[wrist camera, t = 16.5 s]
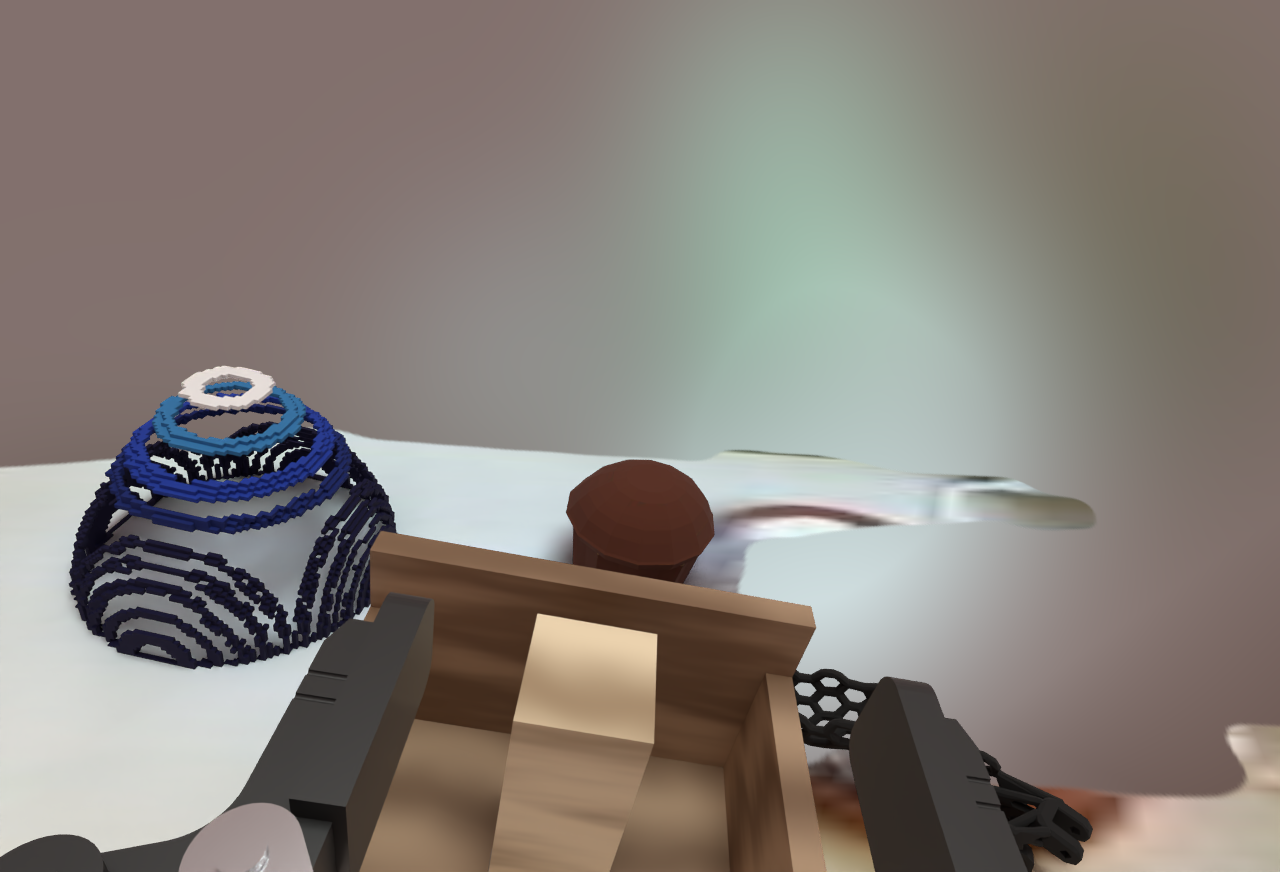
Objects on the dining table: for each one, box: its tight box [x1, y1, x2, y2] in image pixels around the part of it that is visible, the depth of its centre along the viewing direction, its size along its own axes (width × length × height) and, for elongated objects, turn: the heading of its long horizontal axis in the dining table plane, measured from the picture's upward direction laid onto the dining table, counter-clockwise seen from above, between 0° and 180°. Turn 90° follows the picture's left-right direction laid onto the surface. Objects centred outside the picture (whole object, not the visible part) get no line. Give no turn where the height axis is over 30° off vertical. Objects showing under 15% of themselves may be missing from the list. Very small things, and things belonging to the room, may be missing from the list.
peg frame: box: [359, 531, 826, 872], centre depth 34 cm, size 14×23×14 cm, turn 88°
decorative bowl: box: [69, 365, 397, 669], centre depth 47 cm, size 20×20×14 cm
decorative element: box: [792, 669, 1093, 872], centre depth 44 cm, size 22×5×6 cm, turn 67°
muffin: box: [566, 460, 714, 584], centre depth 54 cm, size 12×11×10 cm
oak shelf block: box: [489, 614, 657, 872], centre depth 32 cm, size 6×6×12 cm
